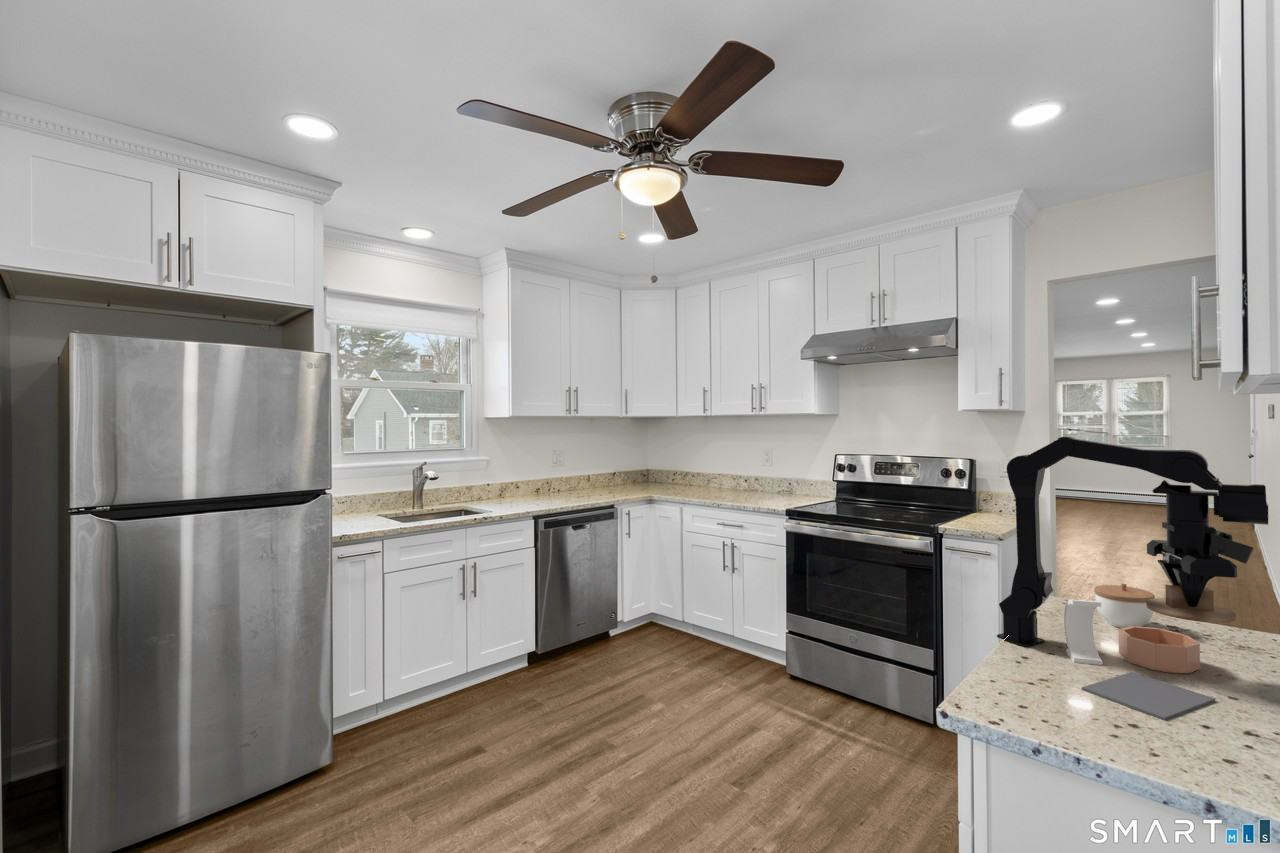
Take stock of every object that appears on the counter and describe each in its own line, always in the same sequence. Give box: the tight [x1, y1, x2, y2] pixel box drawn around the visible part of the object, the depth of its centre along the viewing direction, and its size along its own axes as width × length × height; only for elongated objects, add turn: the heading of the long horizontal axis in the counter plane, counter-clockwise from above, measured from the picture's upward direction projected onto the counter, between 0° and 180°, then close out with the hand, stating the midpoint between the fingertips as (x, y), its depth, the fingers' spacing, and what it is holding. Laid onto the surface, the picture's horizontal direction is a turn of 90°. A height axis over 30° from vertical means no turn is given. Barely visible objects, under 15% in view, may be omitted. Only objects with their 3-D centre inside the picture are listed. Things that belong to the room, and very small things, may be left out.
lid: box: [1146, 584, 1237, 624], centre depth 109 cm, size 12×12×4 cm
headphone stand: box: [1063, 598, 1103, 666], centre depth 118 cm, size 5×6×12 cm
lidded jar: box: [1093, 583, 1156, 629], centre depth 136 cm, size 11×11×9 cm
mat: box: [1081, 671, 1216, 721], centre depth 102 cm, size 15×12×1 cm
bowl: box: [1117, 626, 1201, 674], centre depth 115 cm, size 11×11×5 cm
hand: (1188, 604), depth 109 cm, fingers closed on lid, 2 cm apart
